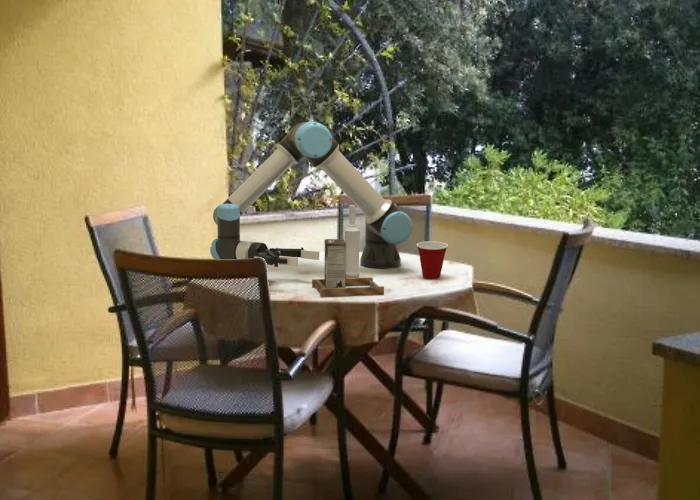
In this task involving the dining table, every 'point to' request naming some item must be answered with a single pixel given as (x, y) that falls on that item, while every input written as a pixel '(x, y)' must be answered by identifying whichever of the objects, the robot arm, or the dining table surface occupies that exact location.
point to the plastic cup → (431, 258)
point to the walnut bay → (349, 288)
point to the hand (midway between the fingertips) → (308, 258)
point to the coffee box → (335, 263)
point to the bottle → (352, 246)
